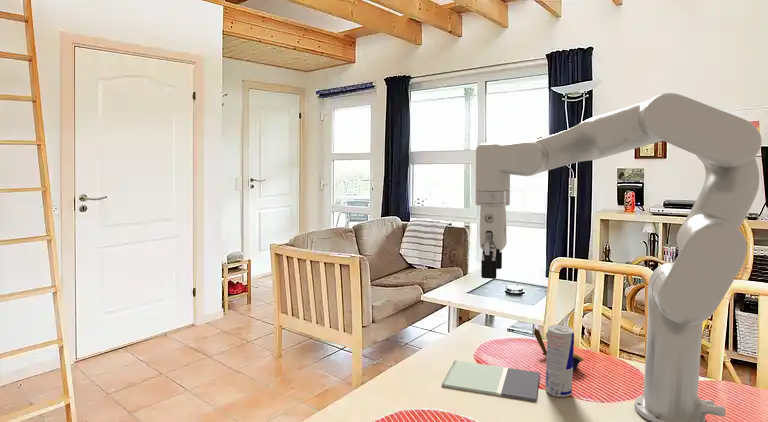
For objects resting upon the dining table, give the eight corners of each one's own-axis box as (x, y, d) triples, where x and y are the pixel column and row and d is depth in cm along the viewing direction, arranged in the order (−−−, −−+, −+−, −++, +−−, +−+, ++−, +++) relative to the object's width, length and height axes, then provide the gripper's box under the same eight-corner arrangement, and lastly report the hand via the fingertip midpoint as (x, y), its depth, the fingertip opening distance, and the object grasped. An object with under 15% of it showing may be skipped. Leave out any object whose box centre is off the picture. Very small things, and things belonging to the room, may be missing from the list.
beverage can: (573, 399, 107) (576, 333, 106) (547, 397, 108) (549, 332, 107) (569, 388, 113) (571, 325, 111) (544, 385, 114) (546, 323, 112)
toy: (566, 328, 134) (589, 352, 120) (563, 350, 135) (585, 376, 121) (532, 326, 134) (551, 349, 119) (530, 348, 135) (548, 374, 120)
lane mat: (539, 374, 120) (539, 372, 119) (536, 401, 106) (536, 399, 106) (454, 362, 127) (454, 360, 127) (441, 386, 114) (441, 383, 114)
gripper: (505, 202, 100) (504, 283, 102) (513, 195, 116) (512, 266, 118) (468, 201, 103) (468, 281, 105) (481, 195, 119) (481, 264, 121)
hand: (491, 273), depth 112 cm, fingers open, 9 cm apart
